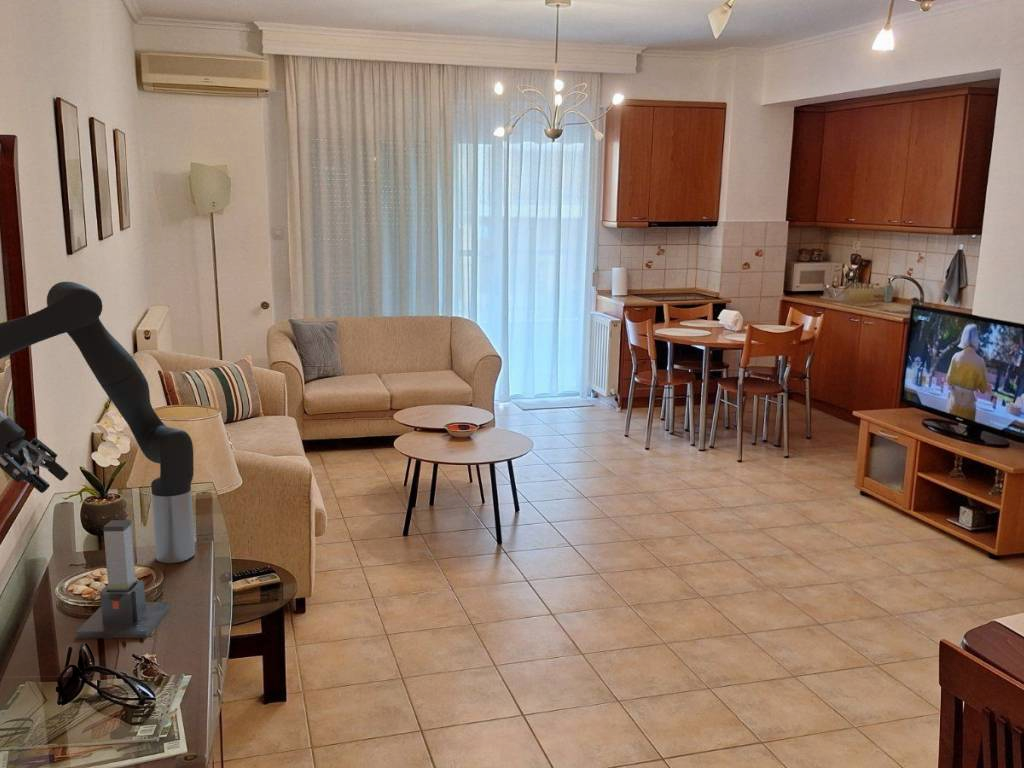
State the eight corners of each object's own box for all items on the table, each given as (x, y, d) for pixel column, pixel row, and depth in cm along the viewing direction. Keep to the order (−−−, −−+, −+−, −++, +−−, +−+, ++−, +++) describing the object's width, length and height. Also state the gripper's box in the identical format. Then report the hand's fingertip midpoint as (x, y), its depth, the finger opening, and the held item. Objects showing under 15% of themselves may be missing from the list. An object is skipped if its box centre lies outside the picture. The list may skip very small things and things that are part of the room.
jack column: (117, 591, 191) (111, 520, 189) (136, 591, 192) (130, 520, 189) (109, 599, 187) (103, 526, 184) (128, 599, 188) (123, 526, 185)
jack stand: (105, 608, 197) (102, 574, 196) (170, 608, 198) (167, 573, 196) (76, 638, 184) (73, 601, 182) (146, 637, 184) (143, 600, 183)
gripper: (-14, 425, 177) (52, 481, 179) (22, 409, 191) (82, 461, 193) (-39, 452, 177) (27, 507, 180) (-1, 434, 191) (59, 485, 194)
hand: (56, 483), depth 187 cm, fingers open, 8 cm apart
